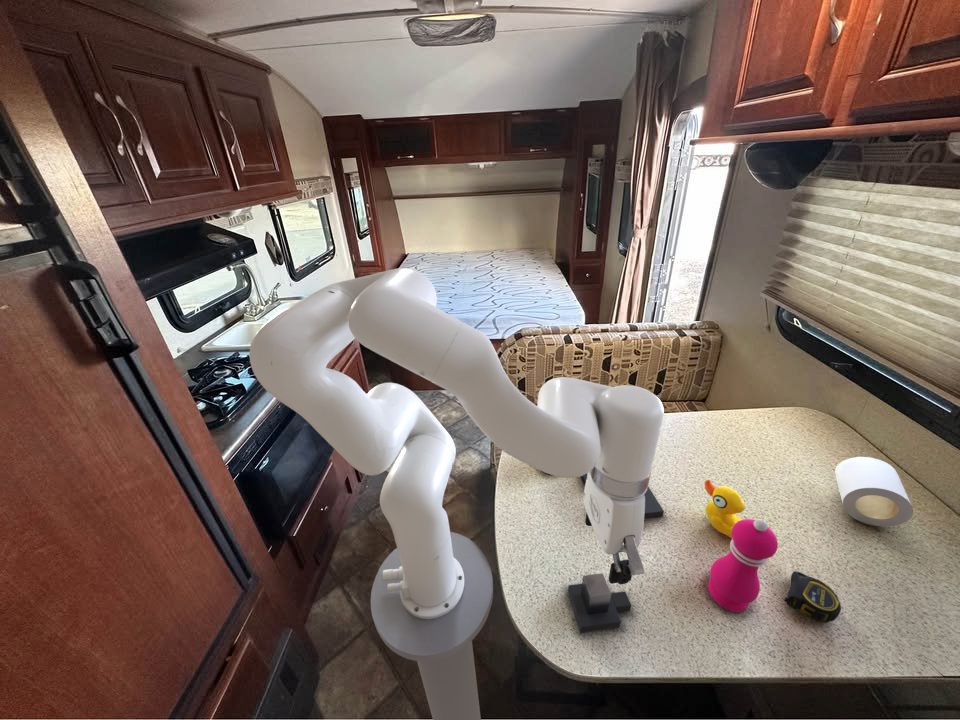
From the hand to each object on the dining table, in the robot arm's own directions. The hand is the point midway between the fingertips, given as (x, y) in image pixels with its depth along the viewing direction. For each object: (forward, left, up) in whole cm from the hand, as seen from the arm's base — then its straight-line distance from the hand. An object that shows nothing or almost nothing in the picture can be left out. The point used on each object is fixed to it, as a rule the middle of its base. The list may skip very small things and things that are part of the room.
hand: (606, 550), depth 59 cm
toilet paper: (+65, +13, -17) cm, 69 cm away
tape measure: (+36, -4, -17) cm, 40 cm away
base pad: (+14, +23, -16) cm, 32 cm away
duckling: (+32, +12, -17) cm, 38 cm away
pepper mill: (+24, -1, -17) cm, 30 cm away
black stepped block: (+1, 0, -16) cm, 16 cm away
